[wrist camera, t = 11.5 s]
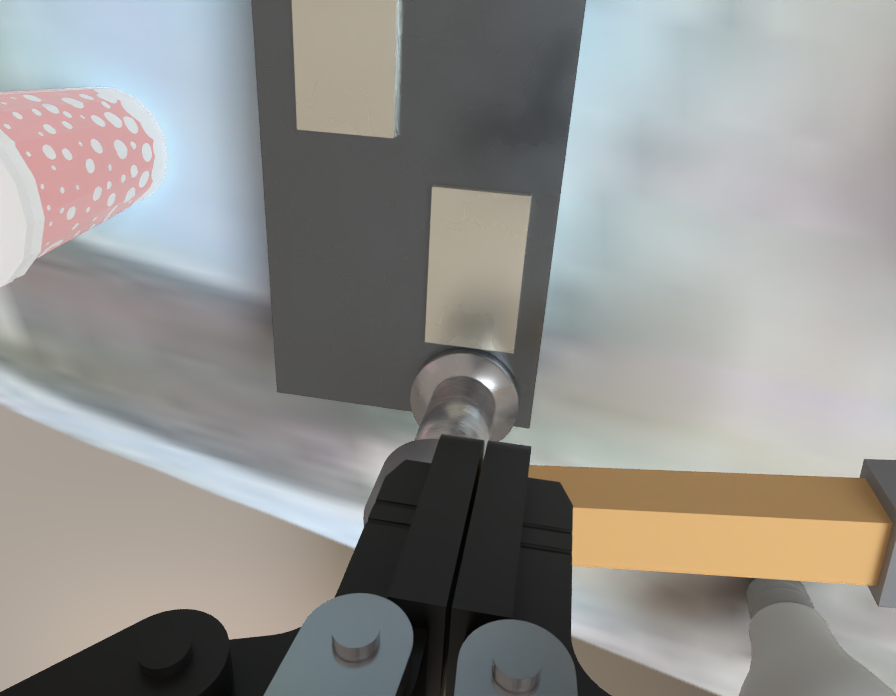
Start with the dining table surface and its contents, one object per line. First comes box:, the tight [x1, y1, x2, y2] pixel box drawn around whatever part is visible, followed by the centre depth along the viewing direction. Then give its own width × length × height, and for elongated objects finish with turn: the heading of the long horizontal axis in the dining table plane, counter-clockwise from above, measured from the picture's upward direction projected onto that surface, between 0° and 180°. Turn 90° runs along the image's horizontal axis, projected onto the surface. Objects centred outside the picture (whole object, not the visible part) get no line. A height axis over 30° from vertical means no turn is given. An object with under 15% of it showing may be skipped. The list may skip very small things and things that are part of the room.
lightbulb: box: [739, 578, 896, 696], centre depth 27 cm, size 6×6×11 cm
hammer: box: [363, 439, 896, 608], centre depth 19 cm, size 15×4×2 cm, turn 94°
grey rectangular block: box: [252, 0, 586, 456], centre depth 22 cm, size 19×10×9 cm, turn 177°
